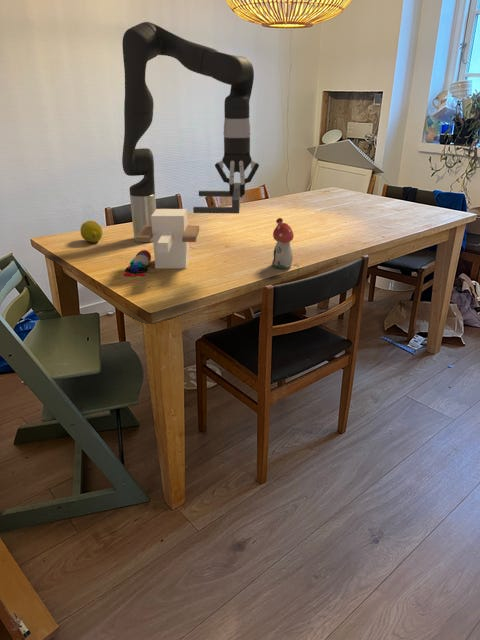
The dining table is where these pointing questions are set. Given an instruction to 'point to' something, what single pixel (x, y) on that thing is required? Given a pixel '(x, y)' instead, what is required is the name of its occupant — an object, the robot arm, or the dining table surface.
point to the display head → (169, 237)
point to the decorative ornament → (282, 245)
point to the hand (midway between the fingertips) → (237, 196)
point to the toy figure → (139, 264)
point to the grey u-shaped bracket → (235, 197)
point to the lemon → (91, 231)
